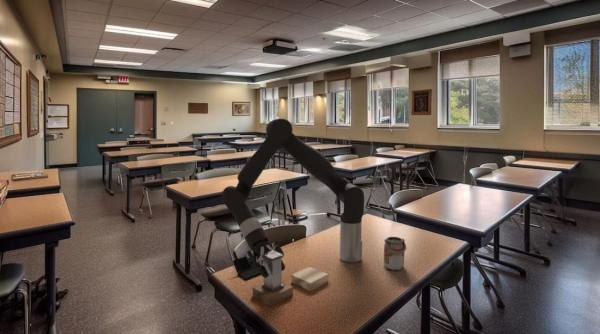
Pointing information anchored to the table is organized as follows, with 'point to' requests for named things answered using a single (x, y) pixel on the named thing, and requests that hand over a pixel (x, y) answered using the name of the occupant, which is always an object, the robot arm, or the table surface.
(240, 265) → the handheld gaming console
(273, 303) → the stand
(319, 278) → the stand
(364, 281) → the table surface
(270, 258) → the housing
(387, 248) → the beverage can
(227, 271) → the table surface
